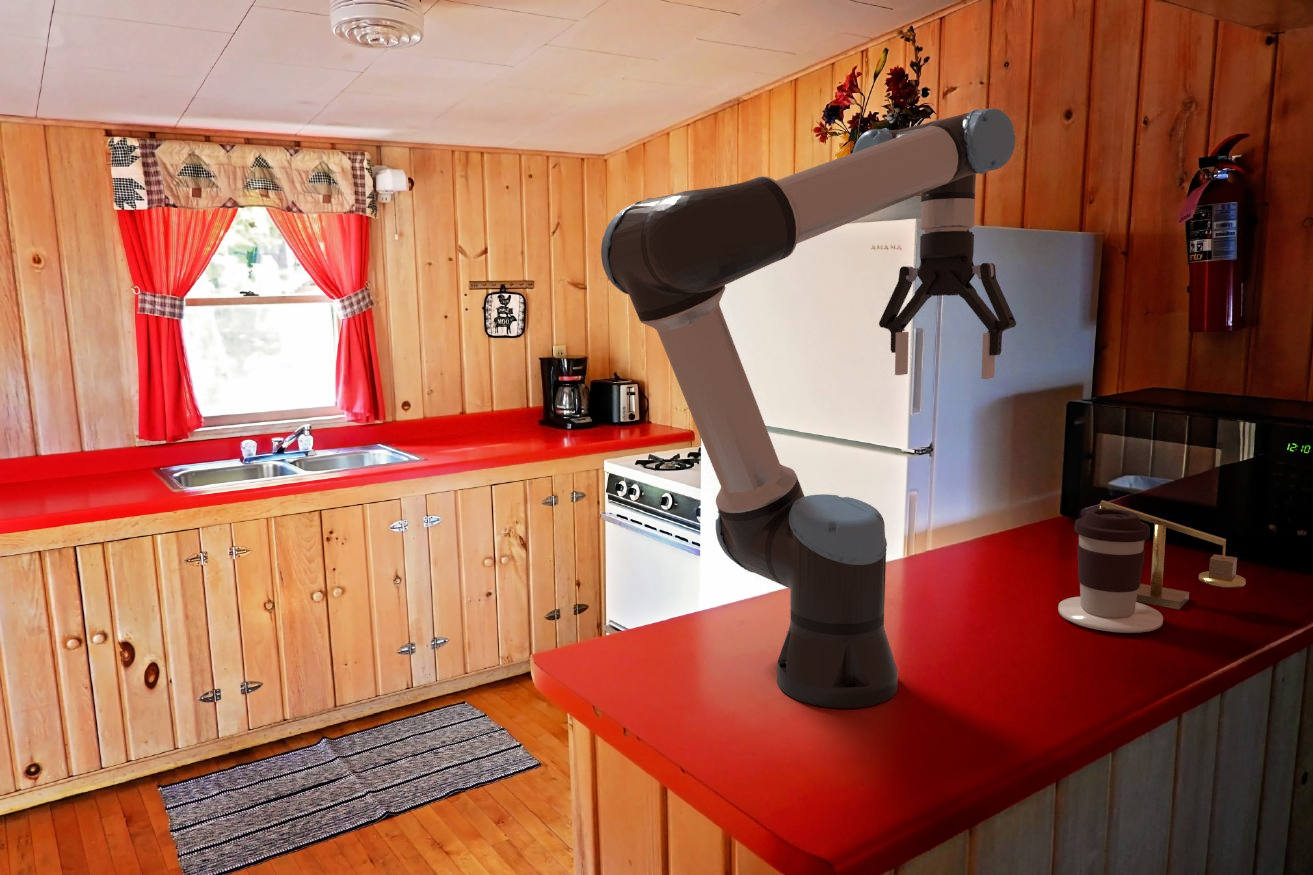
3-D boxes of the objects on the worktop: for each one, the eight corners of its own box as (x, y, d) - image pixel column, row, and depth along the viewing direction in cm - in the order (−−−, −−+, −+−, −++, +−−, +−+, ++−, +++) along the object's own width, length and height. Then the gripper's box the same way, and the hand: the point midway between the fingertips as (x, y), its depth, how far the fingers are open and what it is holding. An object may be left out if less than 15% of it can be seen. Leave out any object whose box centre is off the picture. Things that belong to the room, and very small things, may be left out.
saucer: (1148, 644, 126) (1148, 635, 126) (1044, 622, 135) (1045, 614, 135) (1173, 616, 137) (1173, 608, 136) (1075, 598, 146) (1075, 590, 146)
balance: (1238, 620, 134) (1246, 522, 132) (1071, 589, 150) (1075, 501, 148) (1246, 609, 139) (1253, 514, 136) (1083, 580, 154) (1087, 495, 152)
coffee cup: (1074, 618, 133) (1079, 519, 131) (1067, 597, 142) (1072, 503, 140) (1150, 625, 130) (1156, 523, 127) (1138, 603, 139) (1144, 507, 137)
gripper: (1043, 226, 127) (1037, 377, 130) (882, 237, 144) (880, 371, 147) (1023, 224, 122) (1017, 382, 125) (858, 235, 138) (856, 374, 141)
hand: (943, 376), depth 136 cm, fingers open, 13 cm apart
